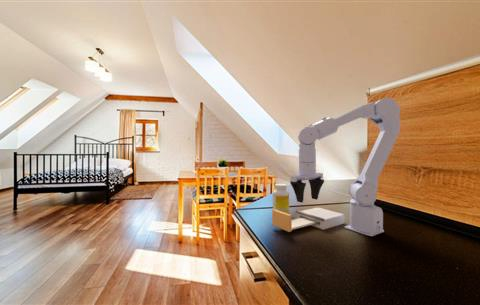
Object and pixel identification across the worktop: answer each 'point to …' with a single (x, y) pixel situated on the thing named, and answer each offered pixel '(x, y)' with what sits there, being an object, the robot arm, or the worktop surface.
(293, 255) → the worktop surface
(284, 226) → the tan and white l-shape
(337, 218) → the dispenser
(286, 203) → the supplement bottle
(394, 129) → the robot arm
